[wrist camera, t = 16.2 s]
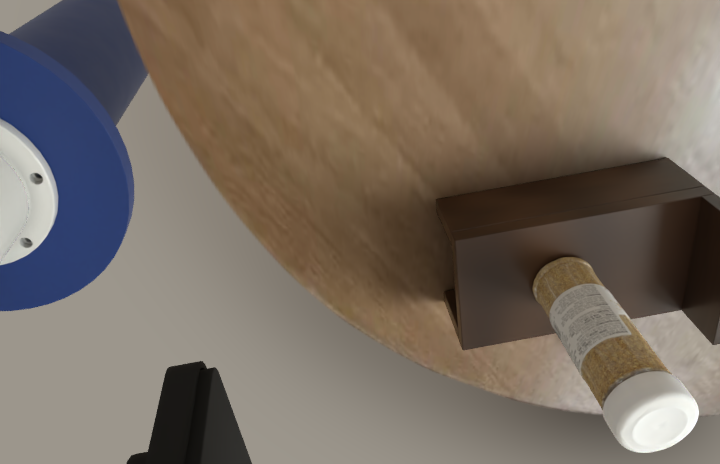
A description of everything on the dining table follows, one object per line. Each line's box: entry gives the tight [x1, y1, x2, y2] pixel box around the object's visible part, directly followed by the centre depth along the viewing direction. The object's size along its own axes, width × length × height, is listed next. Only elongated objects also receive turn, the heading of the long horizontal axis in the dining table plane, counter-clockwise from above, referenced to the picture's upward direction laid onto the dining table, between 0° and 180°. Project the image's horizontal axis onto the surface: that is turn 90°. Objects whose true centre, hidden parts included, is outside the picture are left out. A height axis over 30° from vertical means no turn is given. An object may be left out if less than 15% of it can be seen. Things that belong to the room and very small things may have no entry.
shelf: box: [436, 158, 720, 350], centre depth 45 cm, size 18×10×10 cm, turn 98°
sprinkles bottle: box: [532, 257, 699, 453], centre depth 38 cm, size 5×5×13 cm
